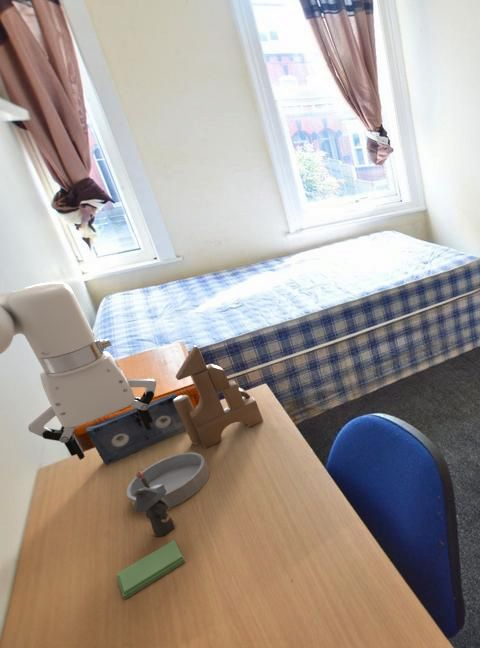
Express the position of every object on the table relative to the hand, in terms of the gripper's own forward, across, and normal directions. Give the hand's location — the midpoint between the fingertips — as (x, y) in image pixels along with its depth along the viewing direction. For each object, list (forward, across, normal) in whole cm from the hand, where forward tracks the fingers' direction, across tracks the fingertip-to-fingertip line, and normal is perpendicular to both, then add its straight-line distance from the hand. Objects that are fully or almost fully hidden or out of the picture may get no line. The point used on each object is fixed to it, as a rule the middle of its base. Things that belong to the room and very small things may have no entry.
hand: (116, 440), depth 83 cm
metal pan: (+21, -4, -12) cm, 25 cm away
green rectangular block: (+21, +4, +10) cm, 24 cm away
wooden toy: (+21, -20, -24) cm, 38 cm away
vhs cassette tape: (+22, -5, -36) cm, 42 cm away
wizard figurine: (+22, 0, 0) cm, 22 cm away
